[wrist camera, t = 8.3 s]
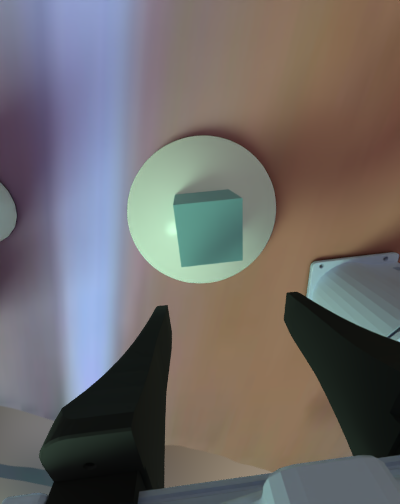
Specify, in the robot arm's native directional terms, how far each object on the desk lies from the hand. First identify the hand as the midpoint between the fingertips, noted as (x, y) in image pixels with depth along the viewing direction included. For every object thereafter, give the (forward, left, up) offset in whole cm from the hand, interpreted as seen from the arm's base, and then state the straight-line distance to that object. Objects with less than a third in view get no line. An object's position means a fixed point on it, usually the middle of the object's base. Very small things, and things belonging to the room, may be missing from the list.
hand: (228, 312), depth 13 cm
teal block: (0, -4, -8) cm, 9 cm away
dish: (0, -4, -9) cm, 10 cm away
